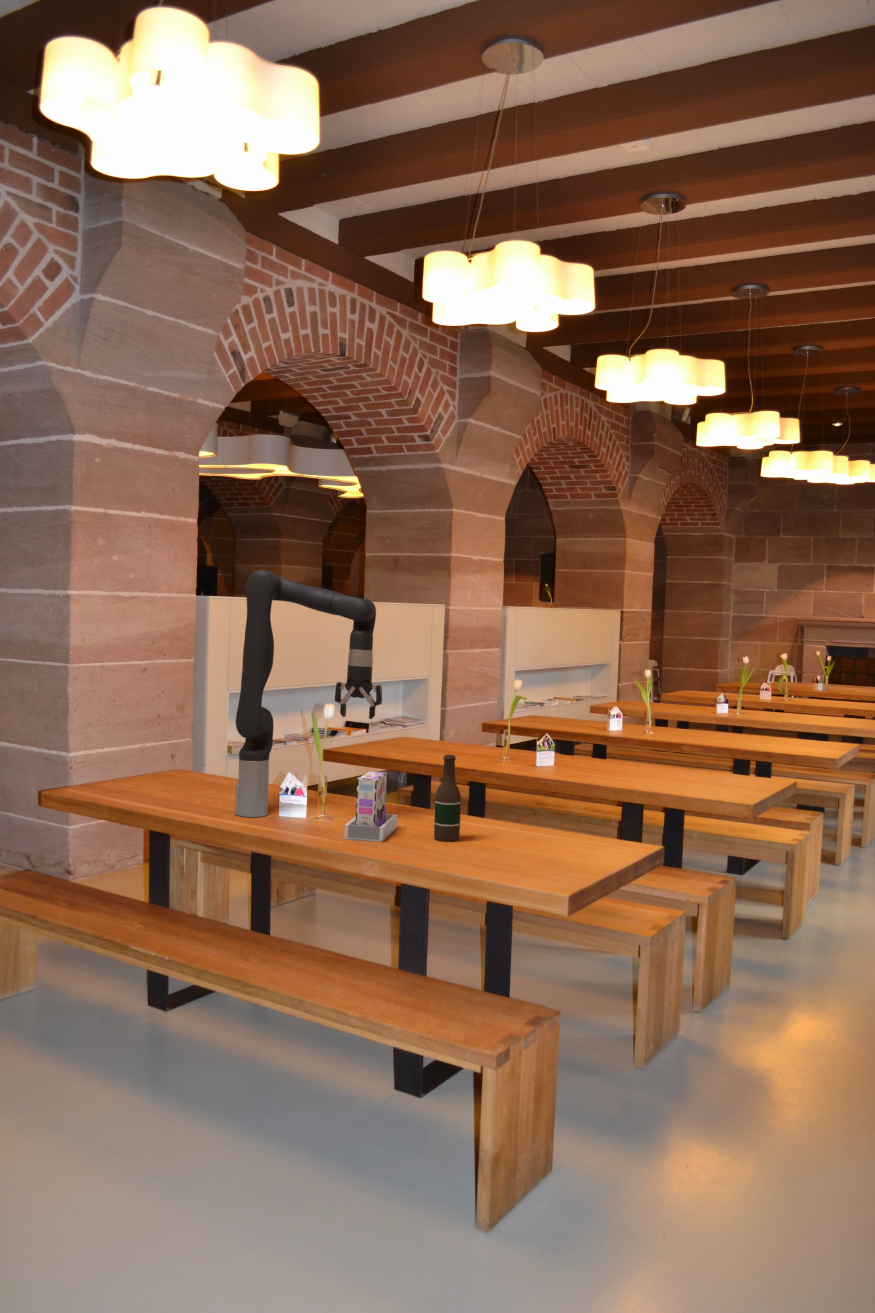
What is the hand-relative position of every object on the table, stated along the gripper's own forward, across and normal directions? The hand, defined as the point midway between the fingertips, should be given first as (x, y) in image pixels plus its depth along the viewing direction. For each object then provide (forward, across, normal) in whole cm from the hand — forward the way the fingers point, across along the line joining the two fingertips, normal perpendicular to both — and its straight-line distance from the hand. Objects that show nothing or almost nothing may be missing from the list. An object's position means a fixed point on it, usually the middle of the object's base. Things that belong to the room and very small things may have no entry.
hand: (357, 717), depth 301 cm
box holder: (+31, +10, -15) cm, 36 cm away
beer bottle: (+31, +32, -15) cm, 47 cm away
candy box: (+31, +10, -15) cm, 36 cm away
